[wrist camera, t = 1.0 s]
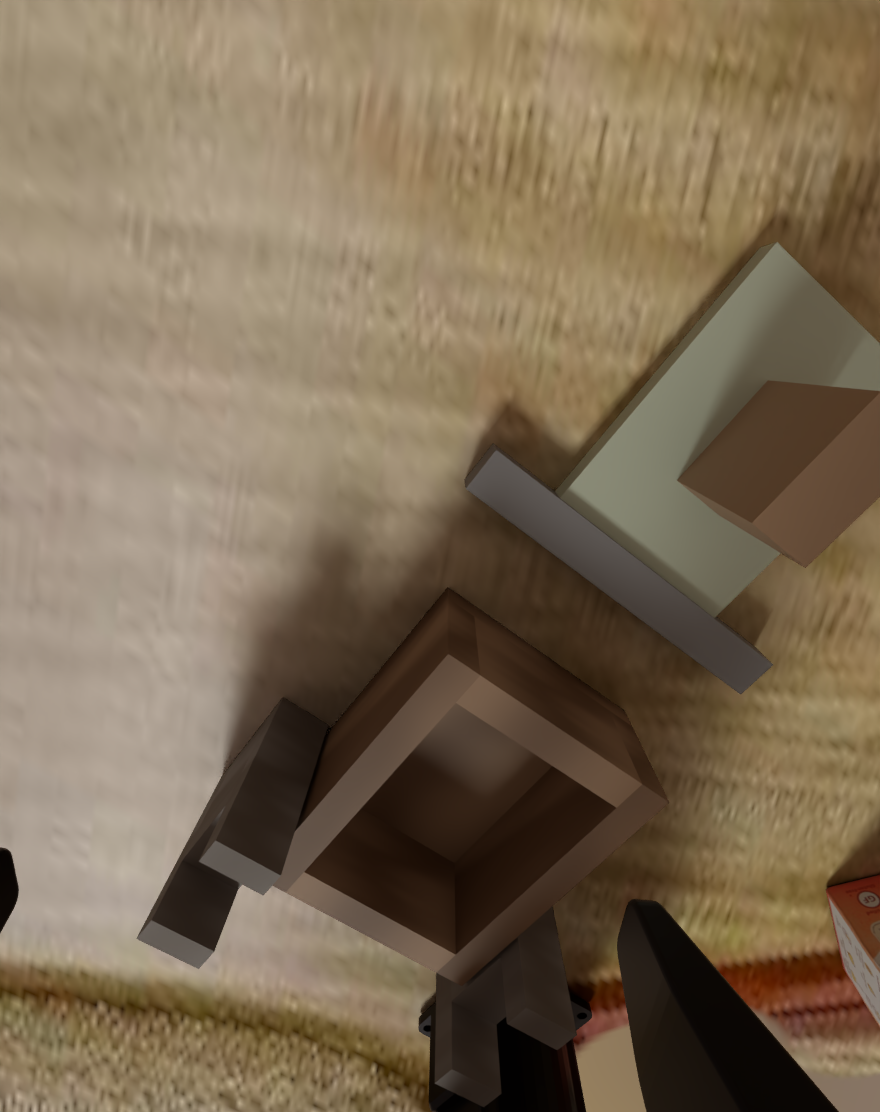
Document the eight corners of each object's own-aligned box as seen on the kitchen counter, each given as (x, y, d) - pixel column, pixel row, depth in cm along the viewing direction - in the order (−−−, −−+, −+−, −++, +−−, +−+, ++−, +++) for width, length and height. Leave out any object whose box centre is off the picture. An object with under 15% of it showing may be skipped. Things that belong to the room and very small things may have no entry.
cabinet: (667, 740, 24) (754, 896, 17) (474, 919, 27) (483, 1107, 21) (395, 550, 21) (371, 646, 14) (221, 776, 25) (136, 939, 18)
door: (959, 447, 20) (1173, 487, 14) (721, 672, 23) (814, 781, 17) (692, 186, 17) (816, 103, 11) (464, 478, 20) (471, 530, 15)
